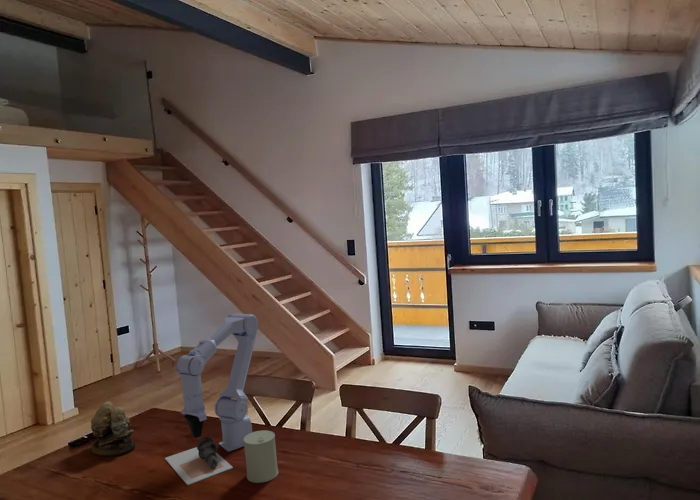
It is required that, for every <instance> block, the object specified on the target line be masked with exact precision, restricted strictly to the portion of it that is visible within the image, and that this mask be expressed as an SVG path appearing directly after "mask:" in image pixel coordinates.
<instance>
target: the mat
mask: <svg viewBox="0 0 700 500" xmlns="http://www.w3.org/2000/svg"><path fill="white" fill-rule="evenodd" d="M217 452H218V451H217ZM217 452H216V455H217V458H216V459H217V461H218V465H217V466H216V467H215V468H210V467H209V465H208V463H206V461H205V459H201V458H200V457H199V454H198V453H199V451H198V449H197V446H196V447H193V448H190V449H187V450H183V451H181V452H178V453H174V454H173V455H169V456H167V457H165V458H164V460H165V461H166V462H167V463H168V464H169V465H170V466H171V468H172V469H173V470H174V471H175V472H176V473H177V475H178V476H179V478H180V479H182V480H183V482H184V483H185V484H186V485H187V486H191V485H192V484H195V483H198V482H201V481H203V480H205V479H208V478H212V477H213V476H214V477H215V476H217V475H219V474H222V473H225V472H227V471H230V470H232V469H233V468H234V467H233V466H232V465H231V464H230V463H229V462H228V461H227V460H226V459H224V458H223V457H222V456H221V455H220V454H219V453H217Z"/></svg>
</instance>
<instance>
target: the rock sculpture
mask: <svg viewBox="0 0 700 500" xmlns="http://www.w3.org/2000/svg"><path fill="white" fill-rule="evenodd" d="M90 423H91V424H90V425H91V426H90V429H91V431H92V433H93V436H94V437H95V439H97V440H96V441H94V442H93V443H92V445H91V446H90V447H89V450H90V453H91V455H94V456H96V457H101V458H114V457H120V456H122V455H127V453H129V452H131V451H132V450H134V449H136V442H135V440H132V439H131V438H130V437H131V436H132V434H133V433H135V430H134V429H131V427H132V424H131V420H130V418H129V417H128V416H127V415H126V409H125V408H124V407H122V406H121V407H120V406H119V407H116V408H114V403H112V401H105V402H104V403H102V404H101V405H100V407H98V409H97V410H96V412H95V414H94V416H93V417H92V418H91V420H90Z"/></svg>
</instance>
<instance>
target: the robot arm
mask: <svg viewBox="0 0 700 500" xmlns="http://www.w3.org/2000/svg"><path fill="white" fill-rule="evenodd" d="M258 329H259V321H258V318H257V317H256V315H254V314H252V313H235V312H231V313H230V314H228V315H227V316H226V317H224V319H223V323H222V324H221V325H220V326H219V327H218V329H217V330H216V331H215V332H214V333H213V334H212V335H211V336H210V337H209V338H204V339H201V340H199V341H198V344H197V345H196V346H195V347H194V348H192V349H191V350H189V352H188V353H187V354H184V355H182V356H181V357H179V358H178V360H177V362H176V366H175V371H176V372H177V373H178V374H179V379H180V380H181V387H182V389H181V390H182V396H183V403H182V404H183V409H182V410H180V414H182V415H183V418H184V419H185V420H186V422H187V425H188V426H189V428H190V431H191V434H192V437H193V438H194V439H197V438H201V437H202V433H203V426H204V423H205V421H206V420H207V419H208V418H207V413H206V407H205V403H204V402H205V401H204V393H203V384H202V374H201V373H202V372H203V371H204V368H205V366H206V363H207V362H208V361H209V360H210V359H211V358H212V357H213V356H214V355H216V352H217V351H218V348H217V347H218V346H219V345H221V344H222V343H223V342H224V341H225V340H226V339H227V338H228V337H230V336H231V335H232V336H233V338H234V339H236V341H237V348H236V352H235V355H234V359H233V362H232V367H231V371H230V376H229V378H228V379H229V380H228V383H227V386H226V388H225V389H224V390H222V392H220V394H219V397H218V399H217V401H216V402H215V404H214V414H215V415H216V416H217V417H218V419H219V420H220V424H221V426H220V427H221V434H222V436H221V437H222V441H221V442H220V441H219V442H218V445H219V446H220V447H221V448H223V449H224V450H225V451H226V452H232V451H235V450H237V449H240V448H243V447H244V437H245V436H246V435H248V434H250V433H252V432H253V424H252V422H251V418H250V416H249V415H248V414H247V412H248V399H249V397H248V396H247V395H246V394H245V392H244V388H245V385H246V380H247V375H248V372H249V367H250V365H251V359H252V355H253V351H254V348H255V343H256V337H257V332H258Z"/></svg>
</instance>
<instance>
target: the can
mask: <svg viewBox="0 0 700 500" xmlns="http://www.w3.org/2000/svg"><path fill="white" fill-rule="evenodd" d="M243 447H244V455H245V456H244V457H245V466H246V479H247V480H248V481H249V482H251V483H255V484H260V483H267V482H269V481H272V480H273V479H276V477H277V476H278V475H279V469H278V461H277V460H278V459H277V447H276V433H275V432H274V431H271V430H267V429H266V430H265V429H264V430H256V431H252V433H250V434H248V435H246V436H245V437H244V446H243Z"/></svg>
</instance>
